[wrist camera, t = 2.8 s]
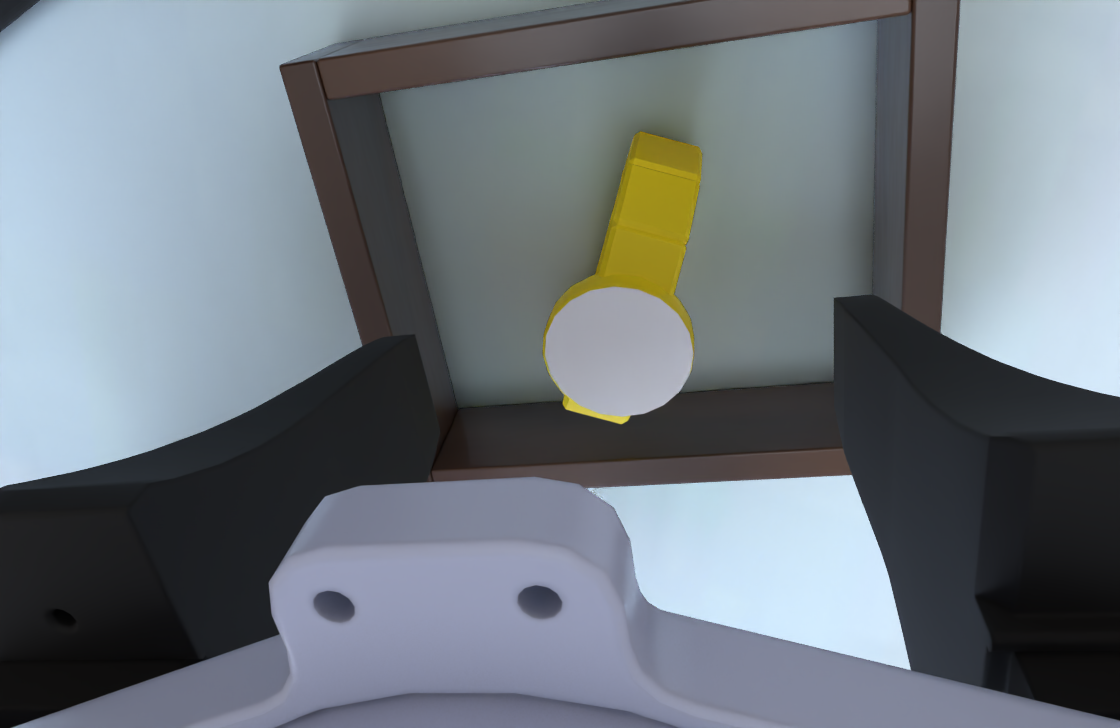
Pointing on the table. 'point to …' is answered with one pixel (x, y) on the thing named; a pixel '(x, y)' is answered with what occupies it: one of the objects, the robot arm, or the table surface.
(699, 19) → the desk tidy
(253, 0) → the table surface
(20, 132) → the table surface
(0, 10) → the device stand
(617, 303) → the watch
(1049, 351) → the table surface
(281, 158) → the table surface
